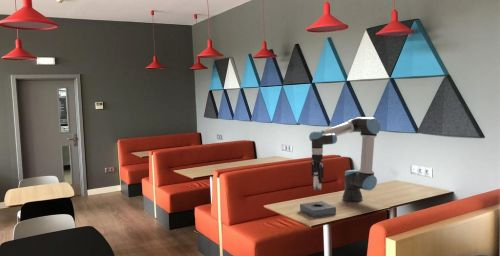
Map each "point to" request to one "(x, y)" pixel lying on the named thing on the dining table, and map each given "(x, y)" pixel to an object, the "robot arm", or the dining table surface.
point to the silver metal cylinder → (316, 181)
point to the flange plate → (317, 209)
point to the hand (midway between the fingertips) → (317, 187)
